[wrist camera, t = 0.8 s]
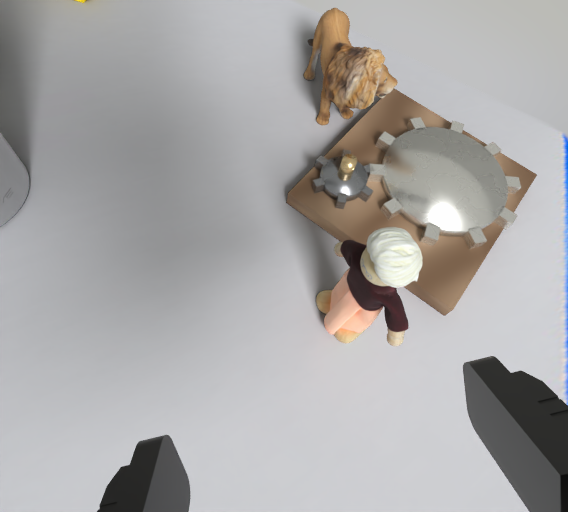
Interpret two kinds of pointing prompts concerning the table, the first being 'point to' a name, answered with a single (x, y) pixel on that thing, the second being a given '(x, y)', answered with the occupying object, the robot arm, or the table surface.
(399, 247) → the grandmother figurine
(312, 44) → the lion figurine
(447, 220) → the gear
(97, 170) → the table surface
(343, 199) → the gear
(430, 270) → the gear board
